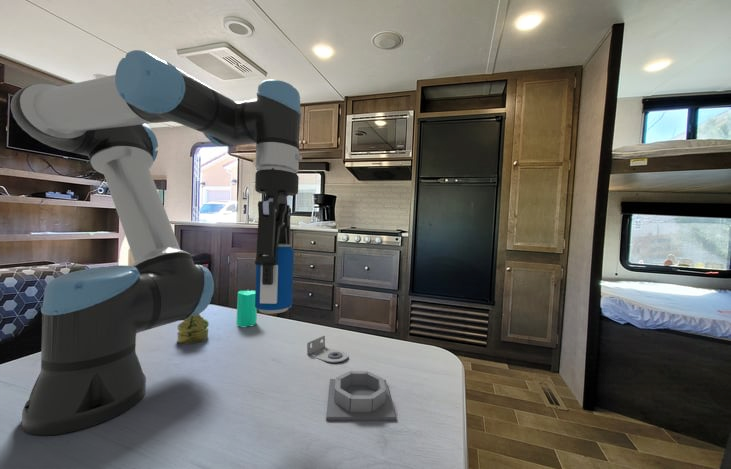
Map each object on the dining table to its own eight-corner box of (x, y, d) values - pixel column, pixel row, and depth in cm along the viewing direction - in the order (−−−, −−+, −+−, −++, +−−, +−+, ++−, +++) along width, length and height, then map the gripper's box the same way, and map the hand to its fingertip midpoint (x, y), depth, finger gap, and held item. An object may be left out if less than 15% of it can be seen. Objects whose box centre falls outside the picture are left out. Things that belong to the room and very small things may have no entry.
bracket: (337, 367, 66) (337, 353, 66) (306, 355, 72) (307, 342, 72) (353, 358, 72) (353, 344, 72) (323, 347, 77) (324, 335, 77)
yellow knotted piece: (200, 332, 83) (202, 298, 83) (213, 338, 78) (214, 303, 78) (172, 339, 77) (173, 303, 77) (184, 347, 72) (185, 308, 72)
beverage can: (299, 309, 52) (301, 244, 52) (270, 317, 47) (272, 245, 47) (276, 303, 56) (278, 243, 56) (247, 310, 50) (249, 243, 50)
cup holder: (326, 420, 48) (326, 402, 48) (329, 381, 60) (330, 367, 60) (395, 420, 48) (396, 403, 48) (385, 382, 60) (386, 368, 60)
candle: (232, 325, 89) (234, 288, 89) (243, 320, 95) (245, 284, 95) (249, 328, 88) (251, 290, 88) (259, 321, 94) (261, 286, 94)
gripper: (286, 159, 42) (282, 313, 42) (306, 182, 61) (303, 287, 61) (234, 157, 41) (230, 313, 41) (271, 180, 60) (268, 287, 61)
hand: (274, 297), depth 51 cm, fingers closed on beverage can, 6 cm apart
